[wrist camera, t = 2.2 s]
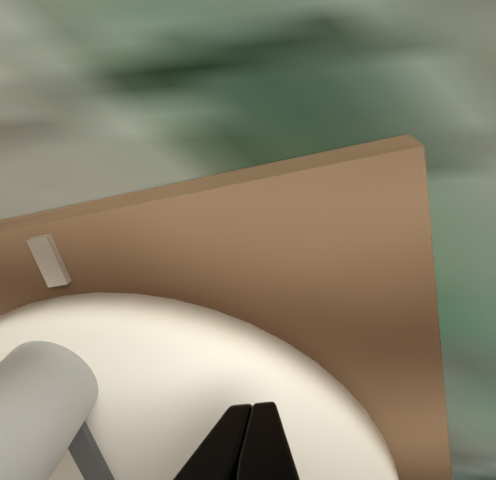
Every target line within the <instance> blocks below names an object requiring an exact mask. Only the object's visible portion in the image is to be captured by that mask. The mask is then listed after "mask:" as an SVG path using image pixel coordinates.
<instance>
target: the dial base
mask: <svg viewBox="0 0 496 480" xmlns="http://www.w3.org/2000/svg"><path fill="white" fill-rule="evenodd" d="M95 292H105V293H136V294H143V295H150V296H157V297H163V298H170V299H176V300H180V301H183V302H187V303H191V304H195V305H199V306H203V307H206V308H210V309H214V310H216V311H219V312H222V313H224V314H227V315H229V316H232V317H235V318H237V319H240V320H242V321H245V322H248V323H250V324H252V325H254V326H256V327H258V328H260V329H262V330H264V331H266V332H268V333H270V334H272V335H274V336H276V337H278V338H280V339H281V340H283V341H285V342H287V343H288V344H290V345H291V346H293V347H294V348H296V349H297V350H299V351H300V352H302V353H303V354H305V355H306V356H308V357H309V358H311V359H312V360H314V361H315V362H317V363H318V364H319V365H320V366H322V367H323V368H324V369H325V370H326V371H327V372H329V373H330V374H331V375H332V376H333V377H334V378H335V379H337V380H338V381H339V382H340V383H341V384H342V385H344V386H345V387H346V389H347V390H348V391H349V392H350V393H351V394H352V395H353V396H354V398H355V399H356V400H357V401H358V402H359V403H360V404H361V405H362V407H363V408H364V409H365V410H366V411H367V413H368V414H369V416H370V417H371V419H372V420H373V422H374V423H375V425H376V426H377V428H378V429H379V431H380V432H381V434H382V435H383V437H384V439H385V442H386V444H387V446H388V448H389V450H390V453H391V455H392V457H393V459H394V462H395V465H396V469H397V473H398V477H399V480H452V473H451V461H450V449H449V437H448V425H447V413H446V401H445V389H444V377H443V365H442V353H441V341H440V329H439V317H438V305H437V293H436V281H435V270H434V258H433V246H432V234H431V222H430V210H429V198H428V186H427V174H426V162H425V150H424V145H423V144H421V143H420V142H418V141H417V140H416V139H414V138H413V137H412V136H410V135H409V134H406V135H401V136H396V137H392V138H387V139H382V140H377V141H373V142H368V143H363V144H359V145H354V146H349V147H344V148H340V149H335V150H330V151H325V152H321V153H316V154H311V155H307V156H302V157H297V158H292V159H288V160H283V161H278V162H273V163H269V164H264V165H259V166H255V167H250V168H245V169H240V170H236V171H231V172H226V173H221V174H217V175H212V176H207V177H203V178H198V179H193V180H188V181H184V182H179V183H174V184H169V185H165V186H160V187H155V188H151V189H146V190H141V191H136V192H132V193H127V194H122V195H117V196H113V197H108V198H103V199H99V200H94V201H89V202H84V203H80V204H75V205H70V206H65V207H61V208H56V209H51V210H47V211H42V212H37V213H32V214H28V215H23V216H18V217H13V218H9V219H4V220H0V315H2V314H4V313H6V312H9V311H11V310H14V309H17V308H19V307H22V306H24V305H27V304H29V303H33V302H37V301H41V300H46V299H50V298H54V297H58V296H64V295H74V294H85V293H95Z"/></svg>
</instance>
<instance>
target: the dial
mask: <svg viewBox="0 0 496 480" xmlns="http://www.w3.org/2000/svg"><path fill="white" fill-rule="evenodd" d="M271 401H272V402H275V404H276V406H277V409H278V412H279V416H280V419H281V422H282V425H283V428H284V431H285V434H286V438H287V441H288V444H289V447H290V450H291V453H292V457H293V460H294V463H295V466H296V469H297V472H298V475H299V479H300V480H399V477H398V473H397V469H396V465H395V462H394V459H393V457H392V455H391V453H390V450H389V448H388V446H387V444H386V442H385V439H384V437H383V435H382V434H381V432H380V431H379V429H378V428H377V426H376V425H375V423H374V422H373V420H372V419H371V417H370V416H369V414H368V413H367V411H366V410H365V409H364V408H363V407H362V405H361V404H360V403H359V402H358V401H357V400H356V399H355V398H354V396H353V395H352V394H351V393H350V392H349V391H348V390H347V389H346V387H345V386H344V385H342V384H341V383H340V382H339V381H338V380H337V379H335V378H334V377H333V376H332V375H331V374H330V373H329V372H327V371H326V370H325V369H324V368H323V367H322V366H320V365H319V364H318V363H317V362H315V361H314V360H312V359H311V358H309V357H308V356H306V355H305V354H303V353H302V352H300V351H299V350H297V349H296V348H294V347H293V346H291V345H290V344H288V343H287V342H285V341H283V340H281V339H280V338H278V337H276V336H274V335H272V334H270V333H268V332H266V331H264V330H262V329H260V328H258V327H256V326H254V325H252V324H250V323H248V322H245V321H242V320H240V319H237V318H235V317H232V316H229V315H227V314H224V313H222V312H219V311H216V310H214V309H210V308H206V307H203V306H199V305H195V304H191V303H187V302H183V301H180V300H176V299H170V298H163V297H157V296H150V295H143V294H136V293H105V292H95V293H85V294H74V295H64V296H58V297H54V298H50V299H46V300H41V301H37V302H33V303H29V304H27V305H24V306H22V307H19V308H17V309H14V310H11V311H9V312H6V313H4V314H2V315H0V480H173V479H174V477H175V476H176V475H177V474H178V472H179V471H180V470H181V468H182V467H183V466H184V464H185V463H186V462H187V461H188V459H189V458H190V457H191V455H192V454H193V453H194V452H195V450H196V449H197V448H198V446H199V445H200V444H201V442H202V441H203V440H204V439H205V437H206V436H207V435H208V433H209V432H210V431H211V429H212V428H213V427H214V426H215V424H216V423H217V422H218V420H219V419H220V418H221V417H222V415H223V414H224V413H225V411H226V410H227V409H228V408H229V407H230V406H232V405H238V404H251V405H254V404H255V403H260V402H271Z"/></svg>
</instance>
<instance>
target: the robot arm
mask: <svg viewBox="0 0 496 480" xmlns="http://www.w3.org/2000/svg"><path fill="white" fill-rule="evenodd" d="M173 480H300V479H299V475H298V472H297V469H296V466H295V463H294V460H293V457H292V453H291V450H290V447H289V444H288V441H287V438H286V434H285V431H284V428H283V425H282V422H281V419H280V416H279V412H278V409H277V406H276V404H275V402H272V401H271V402H260V403H255V404H254V405H251V404H238V405H232V406H230V407H229V408H228V409H227V410H226V411H225V413H224V414H223V415H222V417H221V418H220V419H219V420H218V422H217V423H216V424H215V426H214V427H213V428H212V429H211V431H210V432H209V433H208V435H207V436H206V437H205V439H204V440H203V441H202V442H201V444H200V445H199V446H198V448H197V449H196V450H195V452H194V453H193V454H192V455H191V457H190V458H189V459H188V461H187V462H186V463H185V464H184V466H183V467H182V468H181V470H180V471H179V472H178V474H177V475H176V476H175V477H174V479H173Z"/></svg>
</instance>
